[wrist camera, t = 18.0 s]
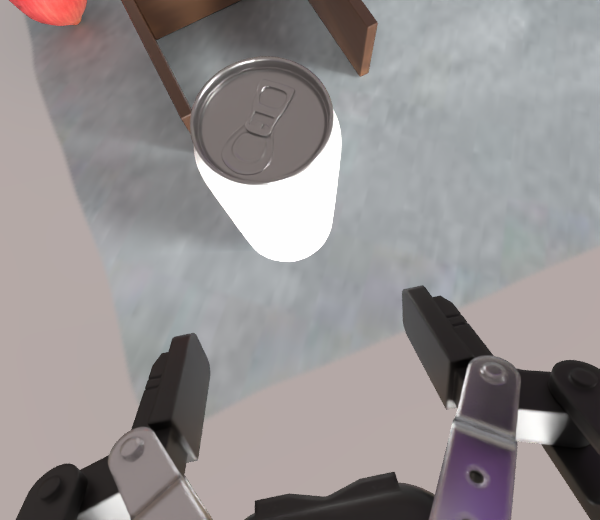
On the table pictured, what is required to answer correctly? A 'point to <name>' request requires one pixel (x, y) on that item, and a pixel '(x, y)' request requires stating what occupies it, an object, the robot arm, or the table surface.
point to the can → (270, 153)
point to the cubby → (200, 3)
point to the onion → (53, 10)
